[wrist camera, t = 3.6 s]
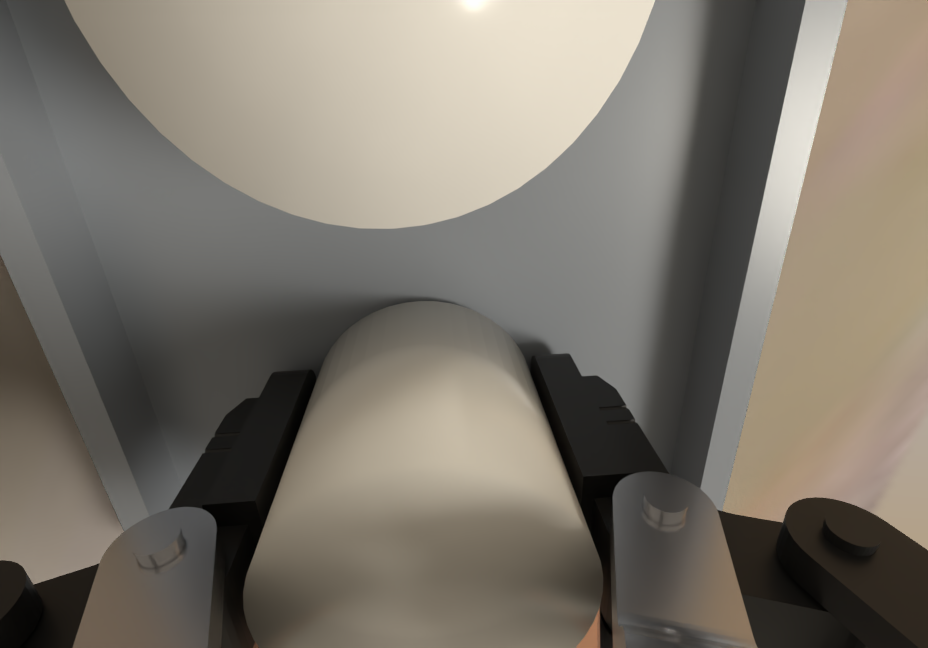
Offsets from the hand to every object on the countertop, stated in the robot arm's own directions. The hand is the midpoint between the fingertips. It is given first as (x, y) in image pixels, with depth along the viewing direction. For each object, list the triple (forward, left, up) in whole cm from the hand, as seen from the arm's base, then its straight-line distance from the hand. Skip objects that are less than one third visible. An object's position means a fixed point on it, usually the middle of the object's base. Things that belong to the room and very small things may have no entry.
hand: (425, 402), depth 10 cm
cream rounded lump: (0, 0, 0) cm, 0 cm away
